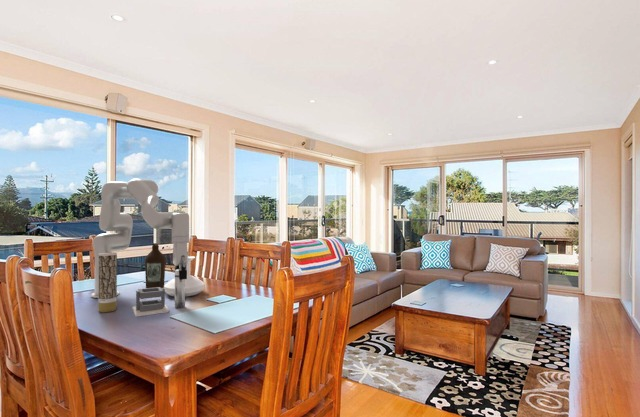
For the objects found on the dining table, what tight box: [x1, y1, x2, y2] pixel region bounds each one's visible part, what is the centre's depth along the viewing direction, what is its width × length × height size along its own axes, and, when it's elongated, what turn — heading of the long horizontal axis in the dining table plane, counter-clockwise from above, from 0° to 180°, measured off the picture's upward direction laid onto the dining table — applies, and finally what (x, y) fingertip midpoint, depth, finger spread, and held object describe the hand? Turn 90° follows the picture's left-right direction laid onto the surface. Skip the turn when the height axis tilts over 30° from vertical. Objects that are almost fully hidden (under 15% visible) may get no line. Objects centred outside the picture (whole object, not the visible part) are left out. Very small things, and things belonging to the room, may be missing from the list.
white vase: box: [164, 255, 206, 298], centre depth 186 cm, size 20×20×19 cm
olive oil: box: [144, 242, 167, 288], centre depth 201 cm, size 11×11×25 cm
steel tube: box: [174, 269, 186, 309], centre depth 162 cm, size 4×4×17 cm
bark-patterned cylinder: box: [97, 252, 118, 313], centre depth 156 cm, size 7×7×25 cm
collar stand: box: [132, 287, 170, 317], centre depth 157 cm, size 13×13×9 cm
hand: (180, 277), depth 162 cm, fingers open, 9 cm apart
